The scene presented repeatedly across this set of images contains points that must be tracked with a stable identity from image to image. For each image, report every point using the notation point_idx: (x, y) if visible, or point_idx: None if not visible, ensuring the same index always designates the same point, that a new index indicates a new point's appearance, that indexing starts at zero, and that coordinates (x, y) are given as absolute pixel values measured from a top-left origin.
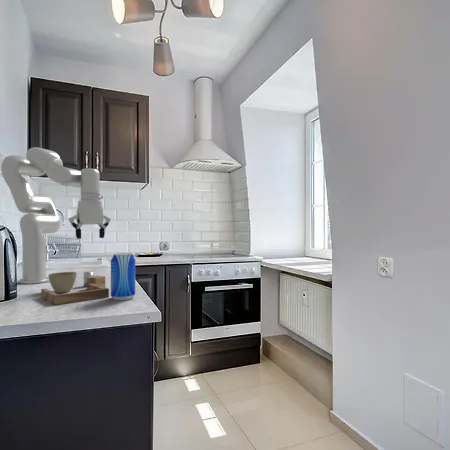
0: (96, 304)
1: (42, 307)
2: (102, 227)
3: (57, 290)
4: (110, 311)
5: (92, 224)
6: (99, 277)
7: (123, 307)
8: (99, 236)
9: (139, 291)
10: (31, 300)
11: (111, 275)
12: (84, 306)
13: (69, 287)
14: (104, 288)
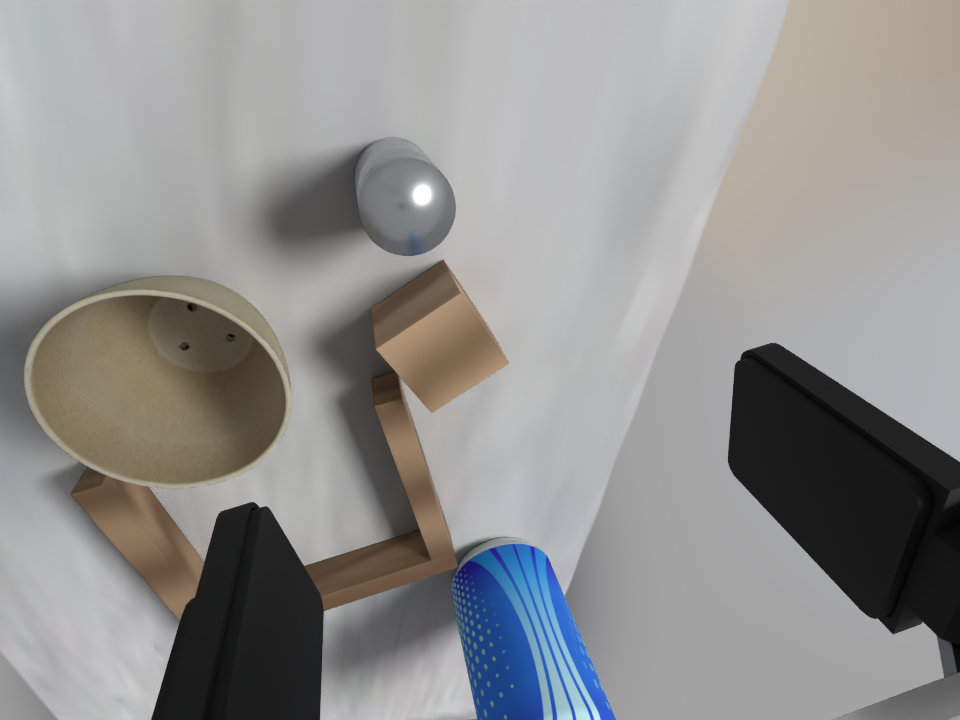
0: (381, 625)
1: (165, 629)
2: (945, 645)
3: (168, 379)
4: (410, 694)
5: (895, 703)
6: (462, 391)
7: (458, 667)
8: (752, 376)
9: (608, 469)
10: (53, 506)
11: (470, 683)
12: (336, 641)
13: (250, 387)
14: (440, 558)
